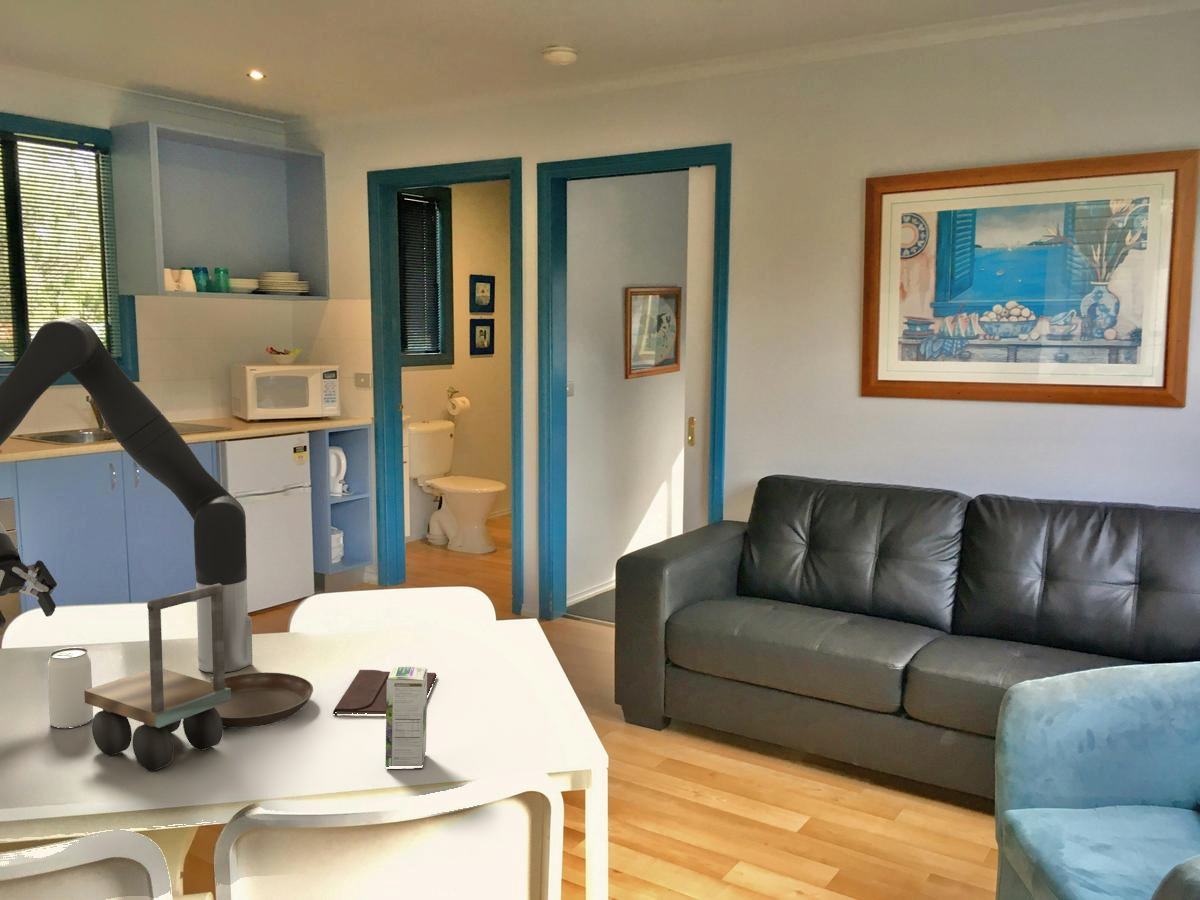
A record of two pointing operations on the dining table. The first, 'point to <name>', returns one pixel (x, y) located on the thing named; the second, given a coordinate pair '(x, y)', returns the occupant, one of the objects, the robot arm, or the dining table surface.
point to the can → (69, 687)
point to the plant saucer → (263, 699)
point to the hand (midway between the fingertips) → (27, 619)
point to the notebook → (369, 693)
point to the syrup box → (406, 716)
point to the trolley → (163, 695)
